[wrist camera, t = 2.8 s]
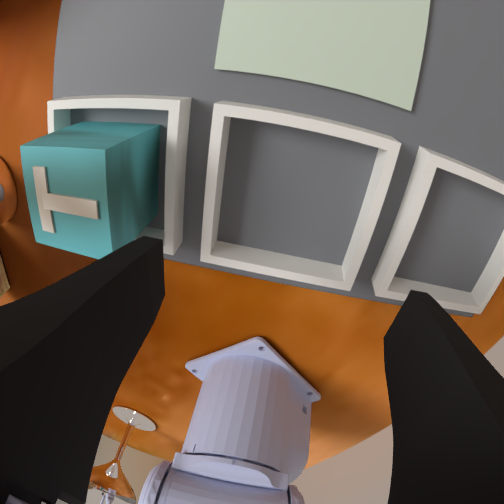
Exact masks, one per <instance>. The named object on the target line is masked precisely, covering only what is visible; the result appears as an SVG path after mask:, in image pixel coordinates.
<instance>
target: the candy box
mask: <svg viewBox="0 0 504 504" xmlns="http://www.w3.org/2000/svg"><path fill="white" fill-rule="evenodd" d="M9 288H10V285H9V283H8V280H7V276H6V273H5V269H4V266H3V262H2V259H1V255H0V298H1V297H2V296H3V294H4V293H5V292H6V291H7V290H8V289H9Z"/></svg>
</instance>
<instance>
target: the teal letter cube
mask: <svg viewBox="0 0 504 504" xmlns="http://www.w3.org/2000/svg"><path fill="white" fill-rule="evenodd" d="M160 129H161V125H159V124H145V123H128V122H101V121H82V122H79V123H77V124H74V125H71V126H68V127H65V128H63V129H60V130H57V131H55V132H52V133H50V134H47V135H45V136H42V137H40V138H37V139H35V140H33V141H30V142H28V143H26V144H23V145H21V146H20V150H21V160H22V168H23V176H24V183H25V190H26V196H27V202H28V207H29V212H30V217H31V222H32V227H33V231H34V236H35V240H36V242H38V243H41V244H45V245H48V246H52V247H55V248H59V249H63V250H66V251H70V252H73V253H77V254H81V255H85V256H88V257H92V258H96V259H101V258H102V257H104V256H106V255H108V254H110V253H111V252H113V251H115V250H117V249H119V248H120V247H122V246H124V245H126V244H128V243H130V242H132V241H134V240H135V238H136V237H137V236H138V235H139V234H140V233H141V232H142V231H143V229H144V228H145V227H146V226H147V225H148V224H149V223H150V222H151V221H152V220H153V218H154V217H155V216H156V215H157V214H158V183H159V149H160Z"/></svg>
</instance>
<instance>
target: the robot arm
mask: <svg viewBox="0 0 504 504" xmlns="http://www.w3.org/2000/svg"><path fill="white" fill-rule="evenodd" d="M164 296H165V285H164V257H163V240H162V239H157V238H153V237H148V236H142V237H140V238H138V239H136V240H134V241H132V242H130V243H128V244H126V245H124V246H122V247H120V248H119V249H117V250H115V251H113V252H111V253H110V254H108V255H106V256H104V257H102V258H101V259H99V260H97V261H95V262H93V263H92V264H90V265H88V266H86V267H84V268H82V269H81V270H79V271H77V272H75V273H73V274H71V275H69V276H67V277H65V278H63V279H61V280H60V281H58V282H56V283H54V284H52V285H50V286H48V287H46V288H44V289H41V290H39V291H37V292H35V293H33V294H30V295H28V296H26V297H23V298H21V299H19V300H16V301H14V302H11V303H8V304H6V305H3V306H0V504H41V502H42V501H43V502H45V503H46V504H55V503H56V501H57V499H60V500H62V501H64V502H67V503H68V504H86V499H87V493H88V487H89V482H90V477H91V472H92V468H93V464H94V460H95V456H96V452H97V449H98V445H99V442H100V439H101V435H102V432H103V429H104V426H105V423H106V420H107V417H108V414H109V412H110V409H111V406H112V403H113V401H114V398H115V395H116V393H117V391H118V389H119V387H120V384H121V382H122V380H123V378H124V376H125V375H126V373H127V371H128V369H129V367H130V365H131V364H132V362H133V360H134V358H135V356H136V354H137V353H138V351H139V349H140V347H141V345H142V343H143V342H144V340H145V338H146V336H147V334H148V333H149V331H150V329H151V327H152V325H153V323H154V321H155V319H156V316H157V314H158V311H159V309H160V306H161V304H162V301H163V299H164ZM261 346H262V347H261ZM384 362H385V373H386V380H387V387H388V395H389V402H390V410H391V418H392V427H393V466H392V477H391V486H390V494H389V499H388V504H504V378H503V377H502V376H501V375H500V374H499V373H498V372H497V370H495V368H494V367H493V366H492V365H491V363H490V362H489V361H488V360H487V359H486V358H485V357H484V355H483V354H482V353H481V352H480V351H479V350H478V348H477V347H476V346H475V345H474V344H473V342H472V341H471V340H470V339H469V338H468V336H467V335H466V334H465V333H464V332H463V331H462V329H461V328H460V327H459V326H458V325H457V323H456V322H455V321H454V320H453V319H452V318H451V316H450V315H449V314H448V313H447V312H446V311H445V310H444V309H443V308H442V306H441V305H440V304H439V303H438V302H437V301H436V300H435V299H434V298H433V297H432V296H431V295H429V294H428V293H426V292H421V291H415V290H410V292H409V294H408V296H407V298H406V300H405V302H404V303H403V305H402V307H401V309H400V311H399V312H398V314H397V316H396V318H395V319H394V321H393V323H392V325H391V326H390V328H389V330H388V331H387V333H386V335H385V336H384ZM185 367H186V368H187V369H188V370H189V371H190V372H191V373H193V374H194V375H195V376H196V377H198V378H199V379H200V380H201V381H203V383H202V386H201V390H200V393H199V396H198V399H197V403H196V406H195V409H194V412H193V415H192V419H191V422H190V425H189V428H188V432H187V435H186V438H185V441H184V445H183V448H182V451H181V453H179V452H176V453H175V456H174V459H173V462H170V461H167V460H165V461H163V462H161V463H160V464H158V465H156V466H154V467H153V468H152V470H151V471H150V473H149V475H148V476H147V479H146V481H145V483H144V486H143V489H142V491H141V494H140V498H139V502H138V504H305V503H304V499H303V496H302V495H301V493H300V492H299V491H298V489H297V487H296V486H294V485H288V484H289V483H291V482H293V481H294V480H295V479H296V478H297V477H298V476H299V475H300V474H301V472H302V471H303V469H304V468H305V466H306V463H307V460H308V455H309V441H310V425H311V405H312V402H315V401H318V400H320V399H321V395H320V393H319V392H317V391H316V390H315V389H314V388H313V387H312V386H311V385H310V384H309V383H308V382H307V381H306V380H305V379H304V378H303V377H302V376H301V375H300V374H299V373H298V372H297V371H296V370H295V369H294V368H293V367H292V366H291V365H290V364H289V363H288V362H287V361H286V360H285V359H284V358H283V357H282V356H281V355H280V354H279V353H278V352H277V351H276V350H275V349H274V348H273V347H272V346H271V345H270V344H269V343H268V342H267V341H266V340H265V339H263V338H262V337H254V338H251V339H249V340H246V341H243V342H241V343H238V344H235V345H233V346H230V347H227V348H225V349H222V350H219V351H216V352H214V353H211V354H208V355H205V356H202V357H199V358H197V359H194V360H191V361H188V362H187V363H186V365H185Z"/></svg>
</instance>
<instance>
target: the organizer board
mask: <svg viewBox="0 0 504 504" xmlns="http://www.w3.org/2000/svg"><path fill="white" fill-rule="evenodd" d="M47 106H48V134H50V133H52V132H55V131H57V130H60V129H63V128H65V127H68V126H71V125H74V124H77V123H79V122H82V121H101V122H128V123H145V124H159V125H161V129H160V149H159V183H158V214H157V215H156V216H155V217H154V218H153V220H152V221H151V222H150V223H149V224H148V225H147V226H146V227H145V228H144V229H143V231H142V232H141V233H140V234H139V235H138V236H137V237H136V238H135V240H136V239H138V238H140V237H142V236H148V237H153V238H157V239H162V240H163V257H164V259H168V260H173V261H177V262H182V263H186V264H191V265H196V266H200V267H205V268H209V269H214V270H219V271H224V272H228V273H233V274H238V275H243V276H248V277H252V278H257V279H262V280H267V281H272V282H277V283H282V284H287V285H292V286H297V287H302V288H308V289H313V290H318V291H323V292H328V293H334V294H339V295H344V296H350V297H355V298H361V299H366V300H372V301H377V302H383V303H389V304H394V305H400V306H402V305H403V303H404V302H405V300H406V298H407V296H408V294H409V292H410V290H415V291H421V292H426V293H428V294H429V295H431V296H432V297H433V298H434V299H435V300H436V301H437V302H438V303H439V304H440V305H441V306H442V308H443V309H444V310H445V311H446V312H447V313H448V314H454V315H460V316H467V317H472V316H473V315H474V313H475V314H481V313H482V311H483V310H484V308H485V306H486V305H487V303H488V302H489V300H490V299H491V297H492V295H493V294H494V292H495V290H496V289H497V287H498V285H499V284H500V282H501V280H502V278H503V277H504V0H62V3H61V9H60V15H59V22H58V30H57V38H56V48H55V61H54V79H53V100H50V101H47Z"/></svg>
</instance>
